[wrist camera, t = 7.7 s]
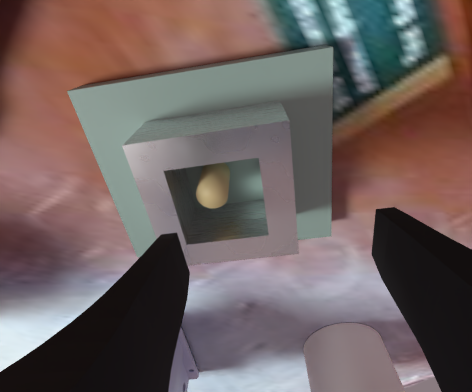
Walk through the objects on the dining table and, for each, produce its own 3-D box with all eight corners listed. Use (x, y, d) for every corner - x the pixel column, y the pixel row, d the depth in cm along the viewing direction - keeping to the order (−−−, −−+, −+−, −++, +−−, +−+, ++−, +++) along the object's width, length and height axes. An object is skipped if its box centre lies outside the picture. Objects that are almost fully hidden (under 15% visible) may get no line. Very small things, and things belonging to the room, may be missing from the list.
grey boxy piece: (289, 215, 18) (298, 253, 15) (179, 228, 19) (167, 267, 16) (279, 100, 15) (289, 120, 12) (145, 121, 15) (122, 145, 12)
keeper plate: (325, 222, 20) (342, 263, 17) (143, 242, 21) (125, 285, 18) (325, 44, 15) (350, 51, 11) (81, 85, 16) (37, 103, 13)
